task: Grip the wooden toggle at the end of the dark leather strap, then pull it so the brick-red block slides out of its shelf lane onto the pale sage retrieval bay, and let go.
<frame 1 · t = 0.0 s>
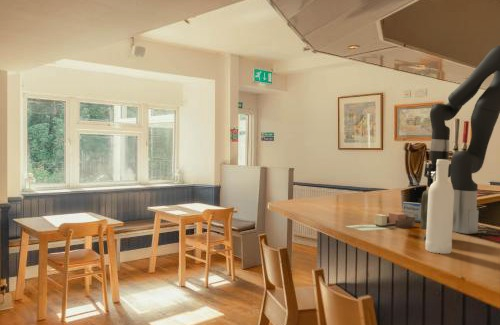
hand: (436, 187, 185), 17 cm above the bar counter, tool pointing down, fingers open, 8 cm apart
shelf lane: (381, 227, 178), on the bar counter
tabletop clock: (436, 239, 157), on the bar counter
pull block: (397, 224, 183), resting on shelf lane
medicine box: (411, 221, 197), on the bar counter
bottle: (438, 251, 138), on the bar counter
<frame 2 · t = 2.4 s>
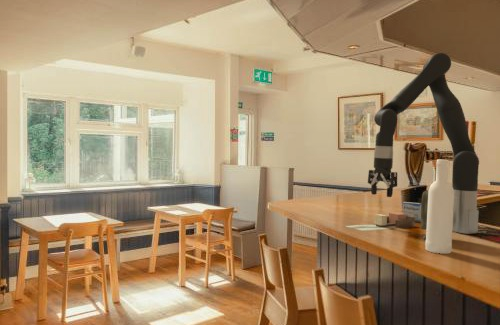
hand: (381, 195, 178), 13 cm above the bar counter, tool pointing down, fingers open, 8 cm apart
nothing on the bar counter moved.
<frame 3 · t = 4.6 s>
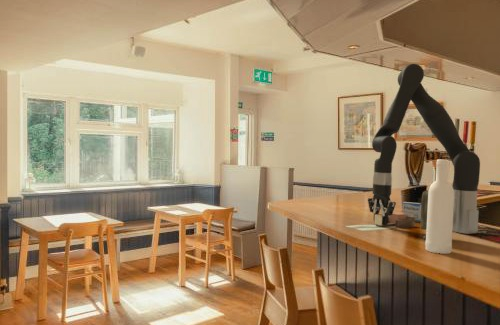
hand: (380, 223, 178), 1 cm above the bar counter, tool pointing down, fingers closed on pull block, 4 cm apart
pull block: (397, 224, 183), resting on shelf lane, touching gripper
everything else where it was.
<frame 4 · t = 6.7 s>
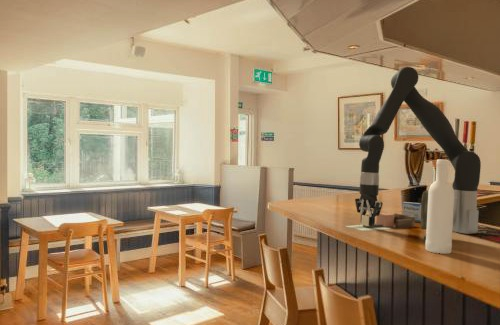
hand: (367, 224, 175), 2 cm above the bar counter, tool pointing down, fingers closed on pull block, 4 cm apart
pull block: (384, 225, 179), resting on shelf lane, touching gripper
everything else where it was.
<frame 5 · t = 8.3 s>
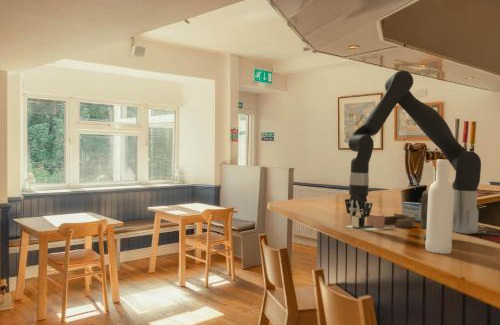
hand: (357, 225, 172), 1 cm above the bar counter, tool pointing down, fingers closed on pull block, 4 cm apart
pull block: (375, 226, 177), resting on shelf lane, touching gripper
everything else where it was.
when the fingers open (1 cm above the bar counter, at t = 9.2 s): pull block stays where it is, resting on shelf lane.
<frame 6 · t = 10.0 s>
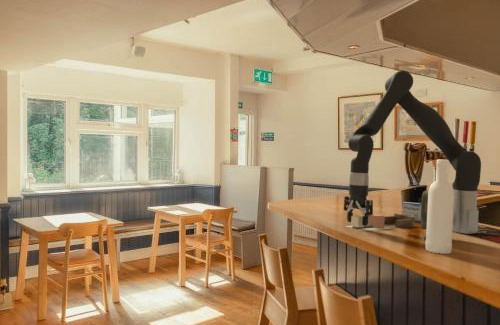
hand: (357, 223, 172), 2 cm above the bar counter, tool pointing down, fingers open, 8 cm apart
pull block: (375, 226, 177), resting on shelf lane
everything else where it was.
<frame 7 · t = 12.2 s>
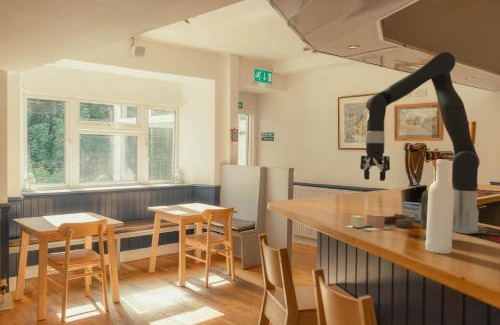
hand: (374, 180, 181), 20 cm above the bar counter, tool pointing down, fingers open, 8 cm apart
nothing on the bar counter moved.
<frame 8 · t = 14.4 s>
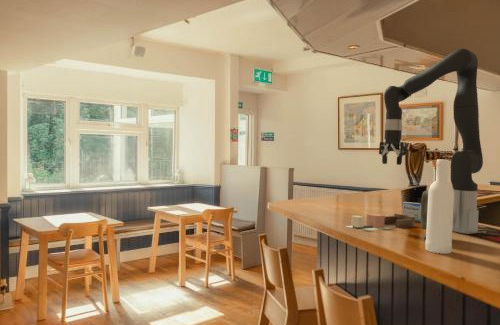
hand: (391, 164, 197), 26 cm above the bar counter, tool pointing down, fingers open, 8 cm apart
nothing on the bar counter moved.
at the end: pull block inside the target area (1.2 cm from its centre), resting on shelf lane; pull block tilted 0°; the gripper is holding nothing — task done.
